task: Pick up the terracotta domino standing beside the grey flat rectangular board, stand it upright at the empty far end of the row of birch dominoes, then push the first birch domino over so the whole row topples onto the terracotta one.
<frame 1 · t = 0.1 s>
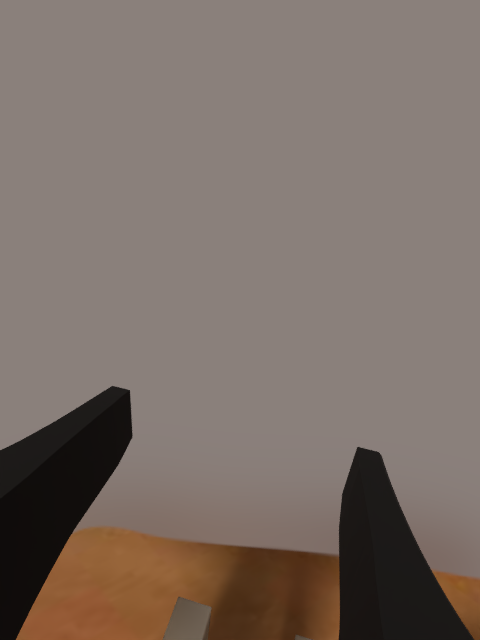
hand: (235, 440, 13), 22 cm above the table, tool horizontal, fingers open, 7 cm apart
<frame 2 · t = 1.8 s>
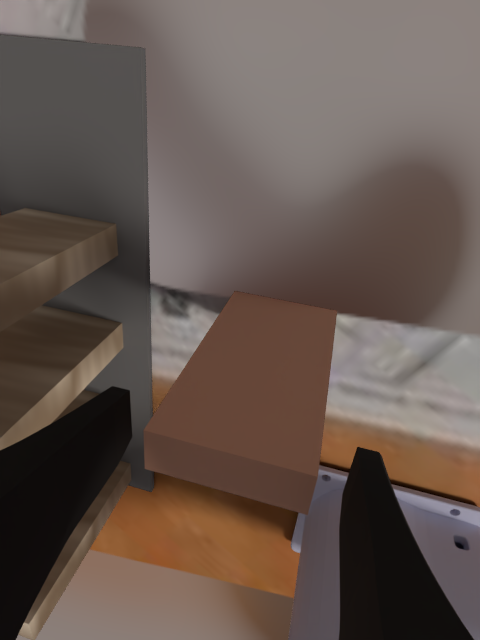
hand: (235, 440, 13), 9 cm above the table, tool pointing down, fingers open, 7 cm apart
domino 1: (97, 462, 29), resting on grey flat rectangular board
domino 3: (82, 326, 23), resting on grey flat rectangular board
domino 2: (90, 401, 26), resting on grey flat rectangular board
grey flat rectangular board: (85, 315, 23), on the table
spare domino: (282, 315, 20), on the table
domino 4: (71, 231, 21), resting on grey flat rectangular board
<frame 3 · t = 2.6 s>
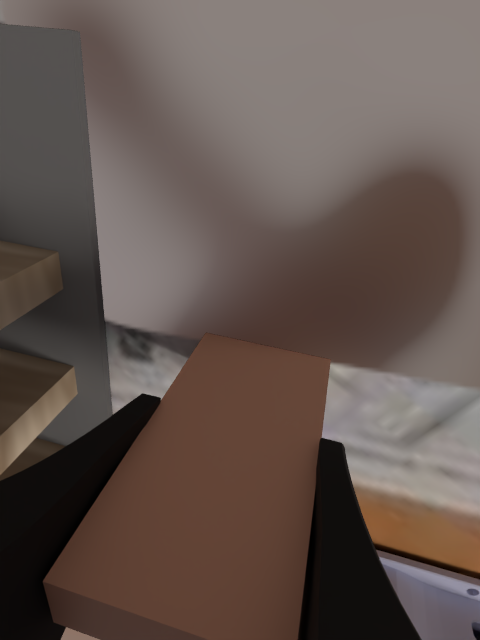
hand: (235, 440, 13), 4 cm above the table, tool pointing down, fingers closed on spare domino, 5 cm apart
domino 3: (28, 368, 20), resting on grey flat rectangular board
domino 2: (45, 450, 22), resting on grey flat rectangular board
grey flat rectangular board: (32, 355, 20), on the table
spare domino: (264, 362, 17), on the table, touching gripper
domino 4: (6, 259, 17), resting on grey flat rectangular board
when the fingers open (6 cm above the table, at t = 7.1 s): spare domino stays where it is, resting on grey flat rectangular board.
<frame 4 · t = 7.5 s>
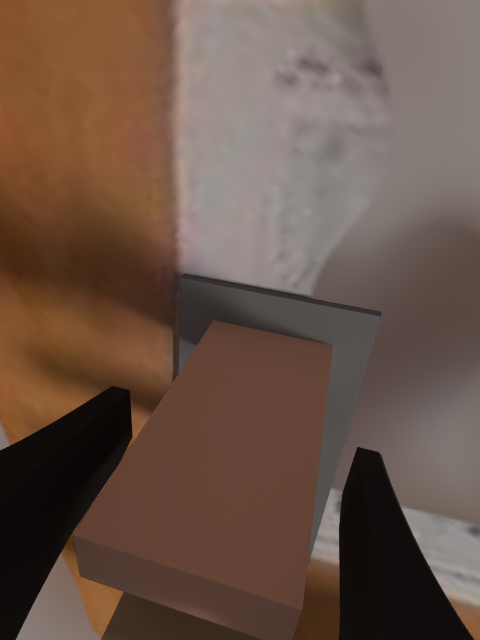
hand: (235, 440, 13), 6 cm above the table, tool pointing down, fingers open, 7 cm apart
grey flat rectangular board: (246, 502, 23), on the table
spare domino: (269, 348, 17), resting on grey flat rectangular board
domino 4: (254, 443, 20), resting on grey flat rectangular board
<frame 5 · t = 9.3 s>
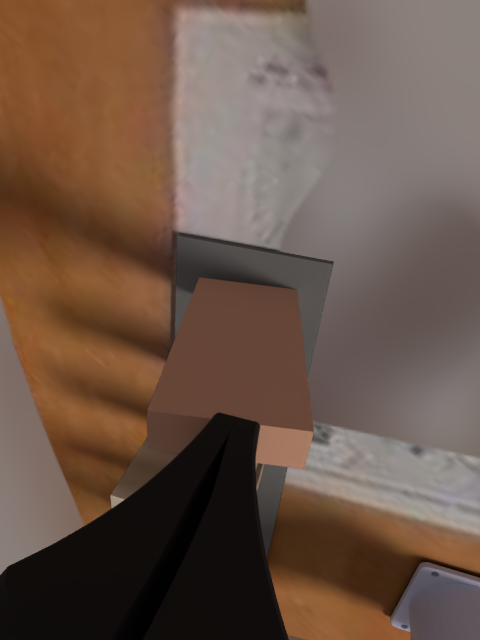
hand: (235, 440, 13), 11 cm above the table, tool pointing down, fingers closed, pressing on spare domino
grey flat rectangular board: (231, 434, 27), on the table
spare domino: (246, 297, 21), point 1 cm above the table, tilted 11°, touching grey flat rectangular board, gripper
domino 4: (237, 377, 25), resting on grey flat rectangular board
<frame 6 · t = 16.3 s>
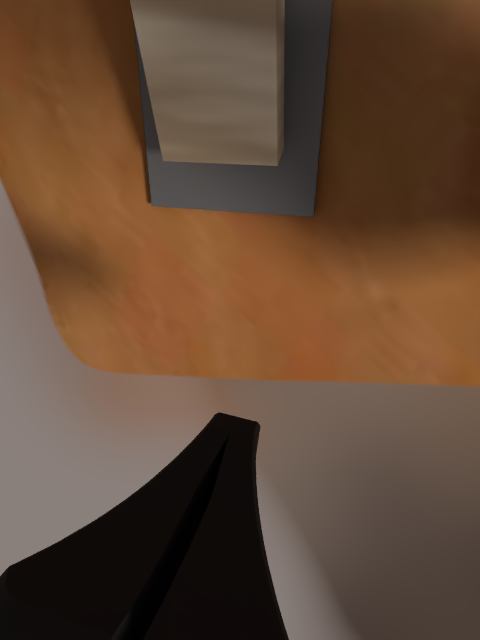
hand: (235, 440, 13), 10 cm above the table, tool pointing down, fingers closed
domino 1: (223, 155, 18), point 1 cm above the table, tilted 73°, touching grey flat rectangular board, domino 2
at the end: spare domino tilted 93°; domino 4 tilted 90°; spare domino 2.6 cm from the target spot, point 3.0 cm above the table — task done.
